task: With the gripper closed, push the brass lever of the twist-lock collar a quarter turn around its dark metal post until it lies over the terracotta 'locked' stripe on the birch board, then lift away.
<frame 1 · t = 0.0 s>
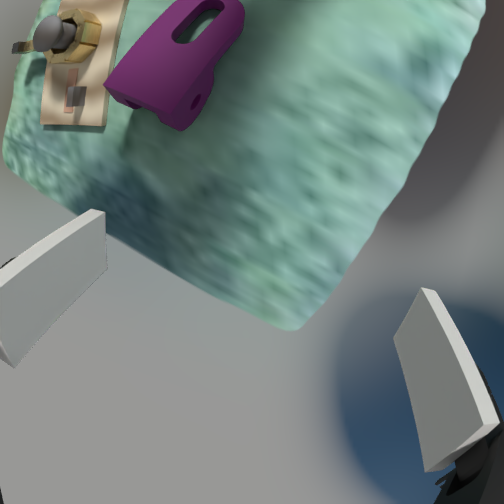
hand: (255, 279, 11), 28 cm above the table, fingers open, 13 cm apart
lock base: (84, 39, 31), on the table
mounting bracket: (194, 54, 32), on the table
collar: (52, 40, 28), point 4 cm above the table, hinge at 0.0°
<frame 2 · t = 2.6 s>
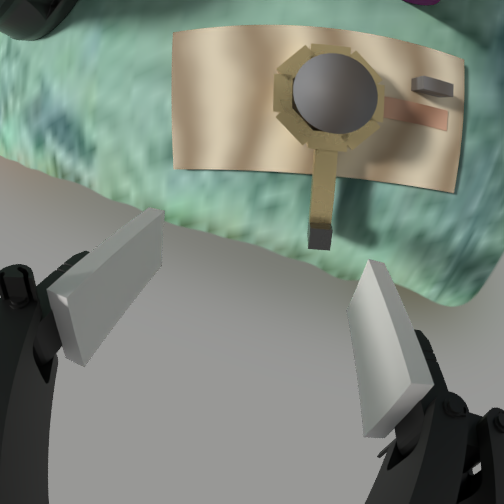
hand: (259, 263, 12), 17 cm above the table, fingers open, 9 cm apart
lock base: (324, 99, 24), on the table
collar: (325, 145, 23), point 4 cm above the table, hinge at 0.0°
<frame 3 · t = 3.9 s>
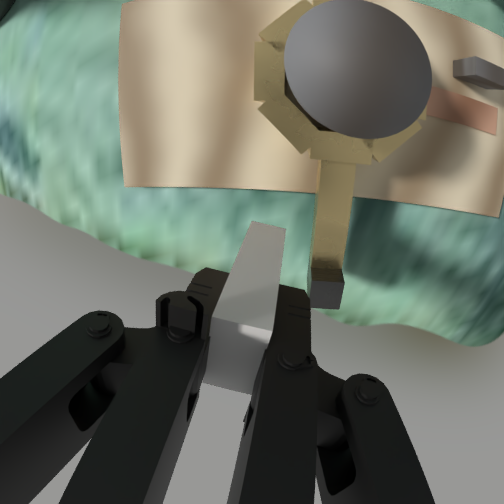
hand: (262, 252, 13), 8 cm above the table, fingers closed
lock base: (332, 85, 16), on the table
collar: (336, 152, 15), point 4 cm above the table, hinge at 0.0°
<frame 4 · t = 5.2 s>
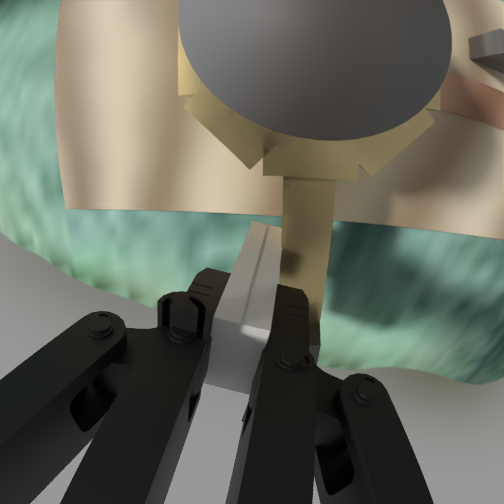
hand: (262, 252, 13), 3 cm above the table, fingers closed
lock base: (307, 70, 12), on the table
collar: (309, 163, 10), point 4 cm above the table, hinge at 0.9°, touching gripper
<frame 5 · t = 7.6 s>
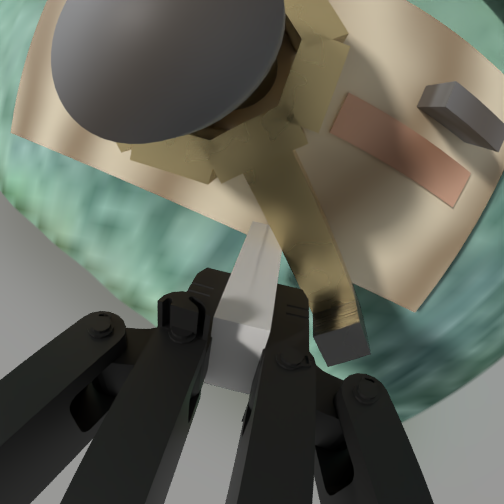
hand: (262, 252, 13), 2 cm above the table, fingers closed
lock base: (236, 71, 12), on the table
collar: (266, 151, 10), point 4 cm above the table, hinge at 49.7°, touching gripper
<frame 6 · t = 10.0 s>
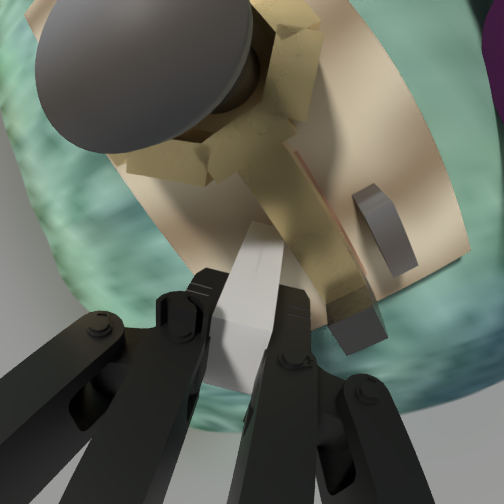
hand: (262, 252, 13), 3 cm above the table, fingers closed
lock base: (221, 74, 12), on the table
collar: (258, 148, 10), point 4 cm above the table, hinge at 90.5°
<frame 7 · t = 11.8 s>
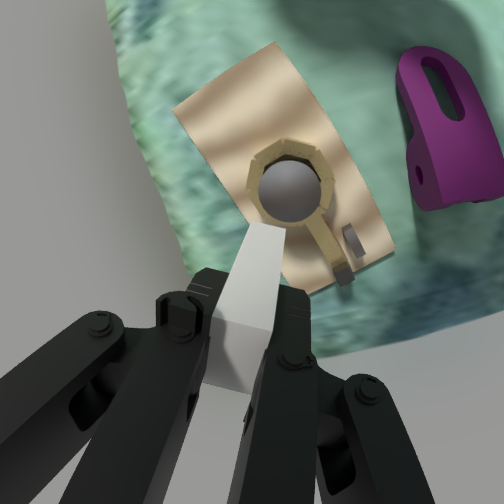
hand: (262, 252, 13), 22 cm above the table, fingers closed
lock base: (290, 175, 33), on the table
mounting bracket: (432, 122, 28), on the table
collar: (310, 213, 31), point 4 cm above the table, hinge at 90.5°
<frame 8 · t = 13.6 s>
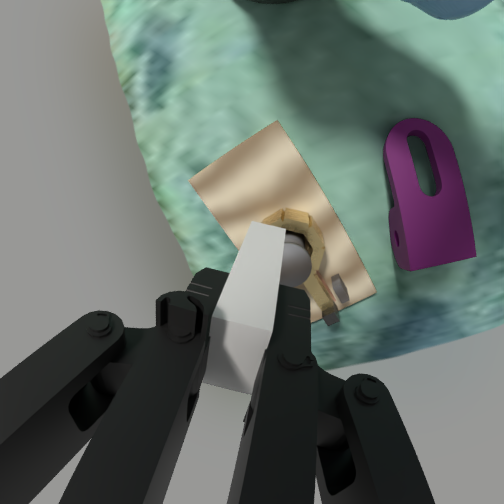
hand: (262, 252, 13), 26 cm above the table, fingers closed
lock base: (290, 235, 41), on the table
mounting bracket: (415, 185, 36), on the table
collar: (304, 270, 39), point 4 cm above the table, hinge at 90.5°
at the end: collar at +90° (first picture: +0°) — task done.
